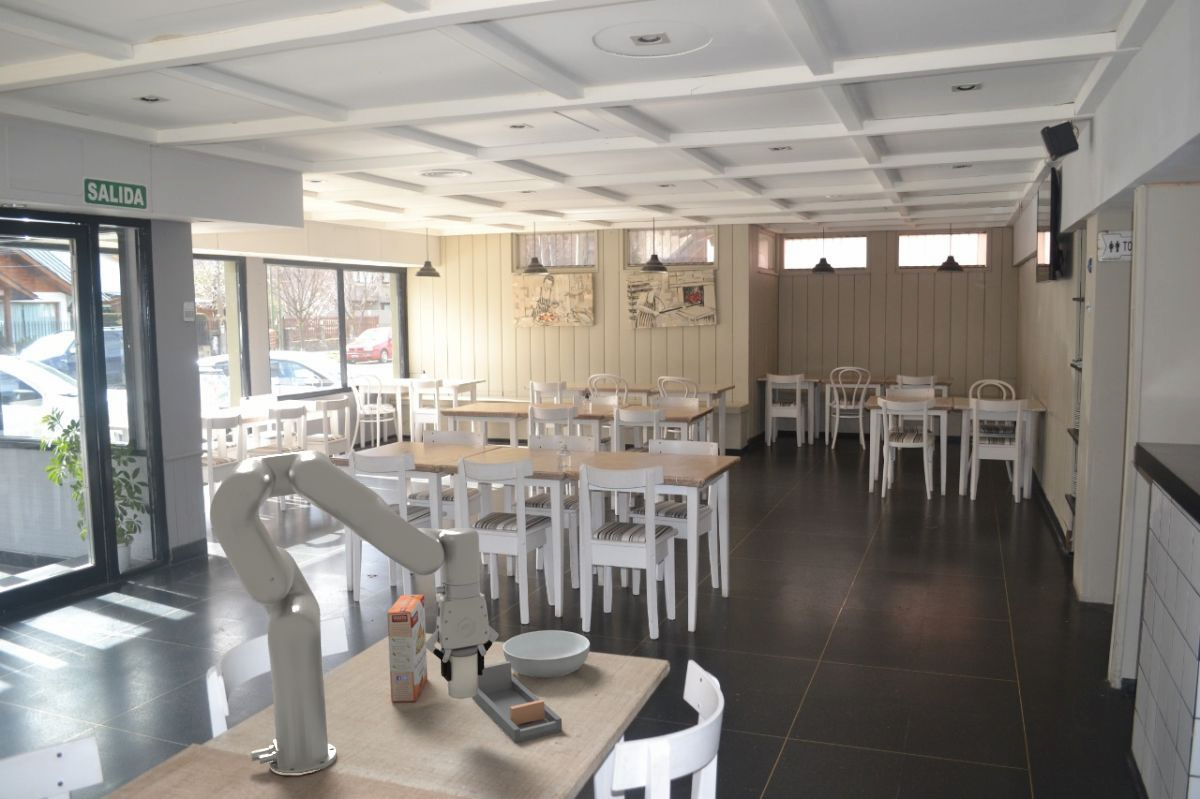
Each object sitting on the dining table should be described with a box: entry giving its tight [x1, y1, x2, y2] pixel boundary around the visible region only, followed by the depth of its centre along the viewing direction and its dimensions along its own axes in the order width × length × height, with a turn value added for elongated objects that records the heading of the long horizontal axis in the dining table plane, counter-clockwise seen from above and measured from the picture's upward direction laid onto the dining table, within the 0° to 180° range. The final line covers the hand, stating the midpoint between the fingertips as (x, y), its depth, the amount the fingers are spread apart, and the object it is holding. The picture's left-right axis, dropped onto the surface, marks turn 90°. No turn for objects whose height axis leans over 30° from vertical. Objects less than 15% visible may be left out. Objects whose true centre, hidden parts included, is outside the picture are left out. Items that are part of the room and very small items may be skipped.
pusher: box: [510, 699, 545, 725], centre depth 197 cm, size 7×5×4 cm
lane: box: [471, 660, 563, 743], centre depth 202 cm, size 10×26×7 cm, turn 27°
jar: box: [447, 646, 478, 700], centre depth 191 cm, size 6×6×10 cm
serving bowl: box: [502, 629, 591, 679], centre depth 226 cm, size 21×21×7 cm
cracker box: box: [386, 594, 428, 703], centre depth 216 cm, size 14×6×21 cm, turn 179°
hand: (462, 675), depth 191 cm, fingers closed on jar, 6 cm apart
